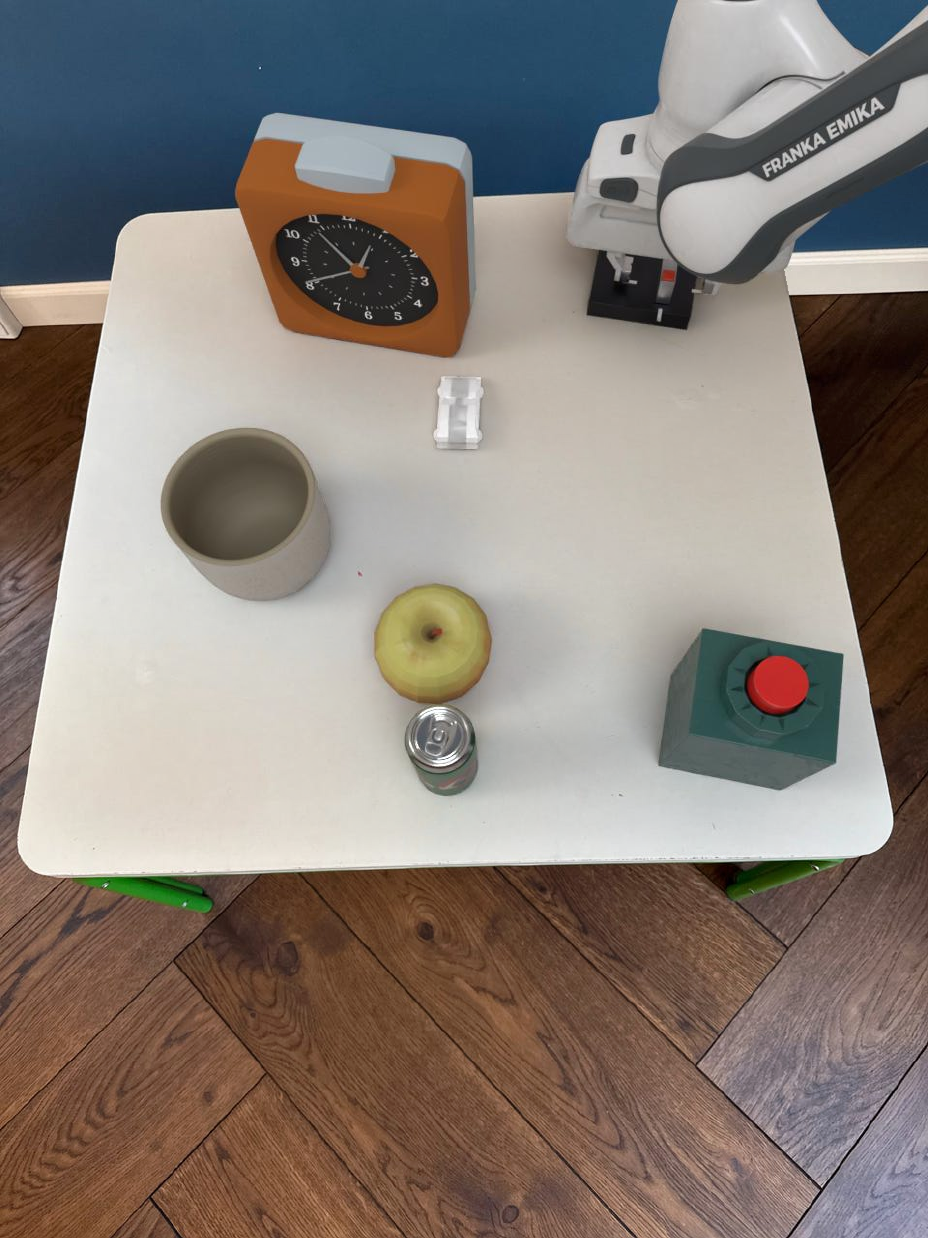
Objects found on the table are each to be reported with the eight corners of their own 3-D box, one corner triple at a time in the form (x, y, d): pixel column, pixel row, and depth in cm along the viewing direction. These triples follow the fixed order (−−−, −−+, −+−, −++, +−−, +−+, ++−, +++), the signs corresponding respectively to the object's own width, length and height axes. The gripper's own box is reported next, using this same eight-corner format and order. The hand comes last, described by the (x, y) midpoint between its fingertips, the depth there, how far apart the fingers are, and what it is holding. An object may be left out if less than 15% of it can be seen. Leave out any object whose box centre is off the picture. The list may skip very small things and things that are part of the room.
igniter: (789, 697, 73) (854, 645, 60) (781, 790, 71) (846, 758, 58) (670, 674, 74) (708, 619, 61) (658, 766, 72) (694, 728, 59)
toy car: (432, 453, 82) (431, 440, 80) (437, 381, 85) (436, 367, 83) (482, 454, 82) (481, 442, 80) (485, 382, 85) (485, 368, 83)
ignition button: (802, 668, 60) (810, 661, 58) (798, 718, 59) (806, 712, 57) (749, 658, 61) (756, 651, 59) (744, 708, 59) (751, 701, 58)
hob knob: (659, 270, 86) (665, 245, 83) (673, 271, 86) (679, 247, 83) (654, 302, 85) (660, 279, 82) (669, 304, 85) (675, 281, 82)
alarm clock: (280, 332, 88) (219, 163, 68) (304, 264, 91) (252, 82, 71) (458, 362, 86) (448, 197, 66) (477, 291, 89) (473, 113, 69)
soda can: (486, 747, 73) (484, 713, 61) (466, 805, 71) (461, 781, 60) (429, 728, 73) (417, 691, 62) (408, 785, 72) (392, 758, 61)
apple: (500, 703, 74) (501, 677, 66) (387, 721, 74) (375, 697, 66) (482, 597, 77) (480, 560, 70) (373, 614, 77) (360, 579, 70)
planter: (363, 524, 80) (344, 464, 70) (292, 638, 77) (261, 592, 66) (251, 470, 82) (216, 404, 72) (176, 578, 79) (129, 524, 69)
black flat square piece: (709, 252, 89) (714, 236, 87) (696, 340, 86) (701, 326, 84) (601, 237, 90) (604, 221, 88) (584, 324, 87) (586, 309, 85)
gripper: (827, 152, 72) (776, 272, 85) (581, 121, 74) (568, 242, 87) (821, 211, 70) (770, 325, 83) (569, 177, 72) (557, 293, 85)
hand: (665, 282), depth 85 cm, fingers open, 7 cm apart
